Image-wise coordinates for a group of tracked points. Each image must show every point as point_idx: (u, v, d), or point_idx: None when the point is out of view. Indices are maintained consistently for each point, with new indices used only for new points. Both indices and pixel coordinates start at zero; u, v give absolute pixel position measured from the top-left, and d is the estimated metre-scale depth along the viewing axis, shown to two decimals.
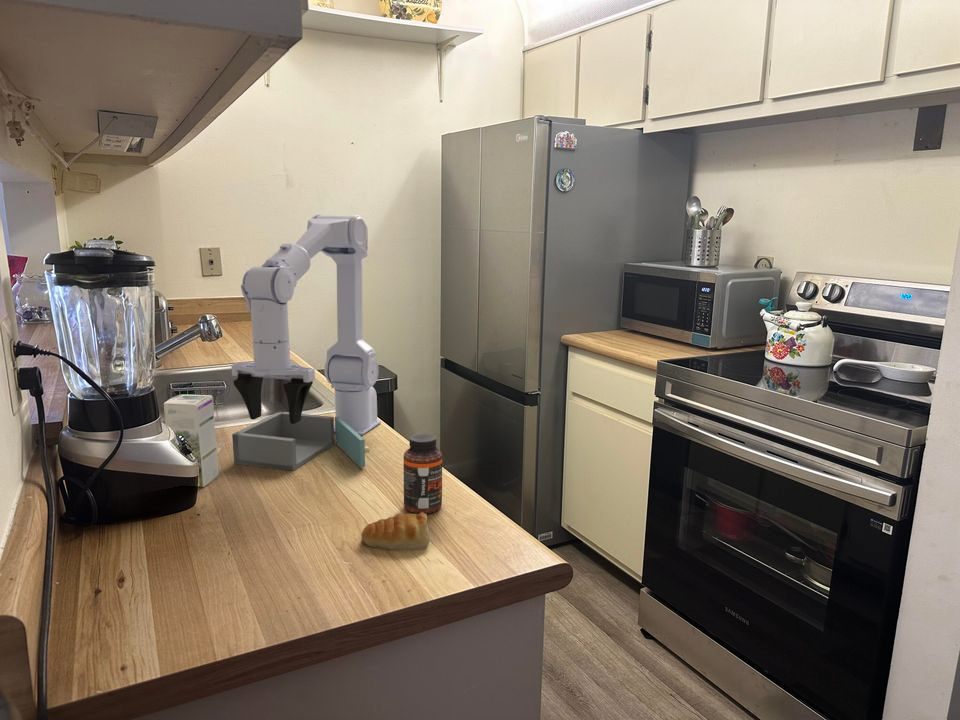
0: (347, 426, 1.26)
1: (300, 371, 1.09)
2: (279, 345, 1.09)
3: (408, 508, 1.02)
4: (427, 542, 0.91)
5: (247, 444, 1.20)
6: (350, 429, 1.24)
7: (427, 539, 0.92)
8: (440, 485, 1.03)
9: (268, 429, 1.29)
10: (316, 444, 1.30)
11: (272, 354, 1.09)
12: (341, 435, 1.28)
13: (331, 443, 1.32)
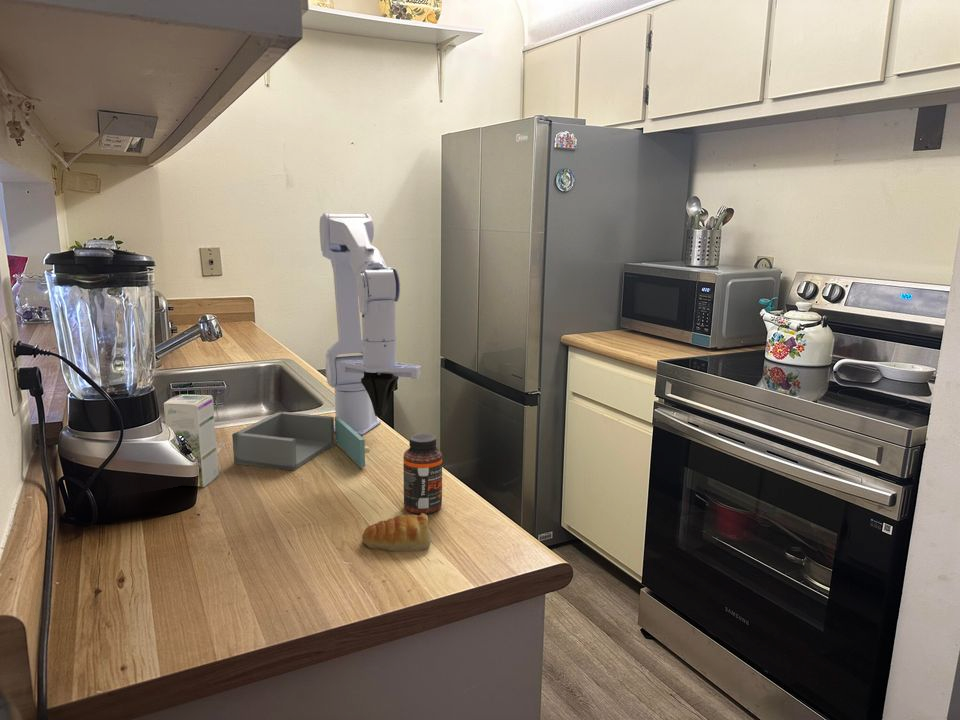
0: (347, 426, 1.26)
1: (408, 368, 1.15)
2: (389, 343, 1.15)
3: (408, 508, 1.02)
4: (428, 543, 0.91)
5: (247, 444, 1.20)
6: (350, 429, 1.24)
7: (428, 540, 0.91)
8: (440, 485, 1.03)
9: (268, 429, 1.29)
10: (316, 444, 1.30)
11: (382, 351, 1.15)
12: (341, 435, 1.28)
13: (331, 443, 1.32)
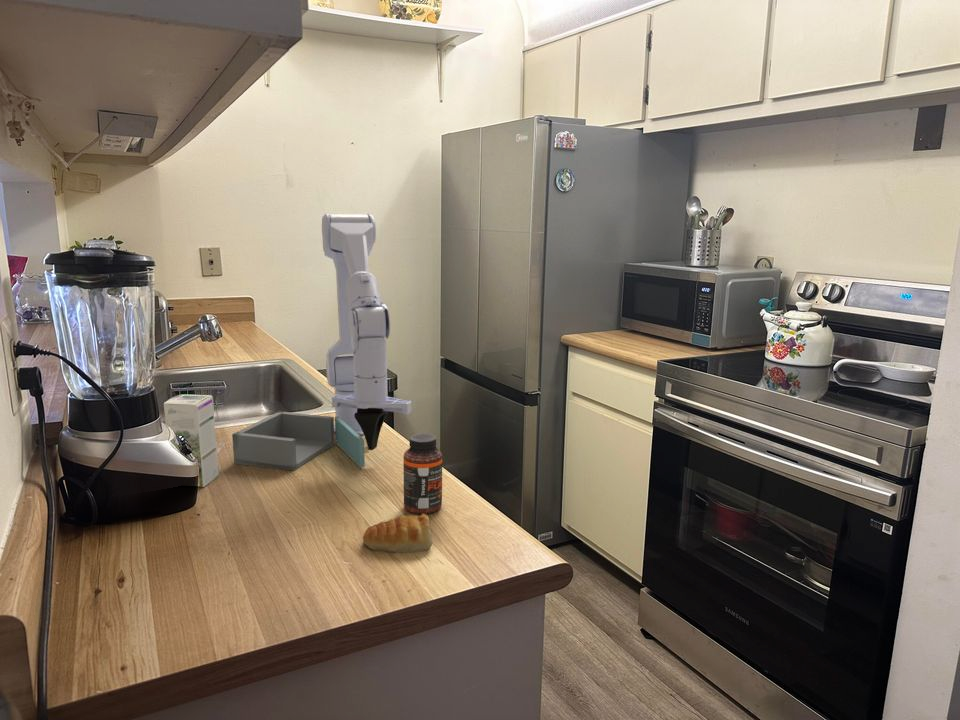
0: (347, 426, 1.26)
1: (399, 404, 1.17)
2: (380, 379, 1.17)
3: (408, 508, 1.02)
4: (430, 544, 0.91)
5: (247, 444, 1.20)
6: (350, 429, 1.24)
7: (430, 541, 0.91)
8: (440, 485, 1.03)
9: (268, 429, 1.29)
10: (316, 444, 1.30)
11: (373, 388, 1.17)
12: (341, 435, 1.28)
13: (331, 443, 1.32)
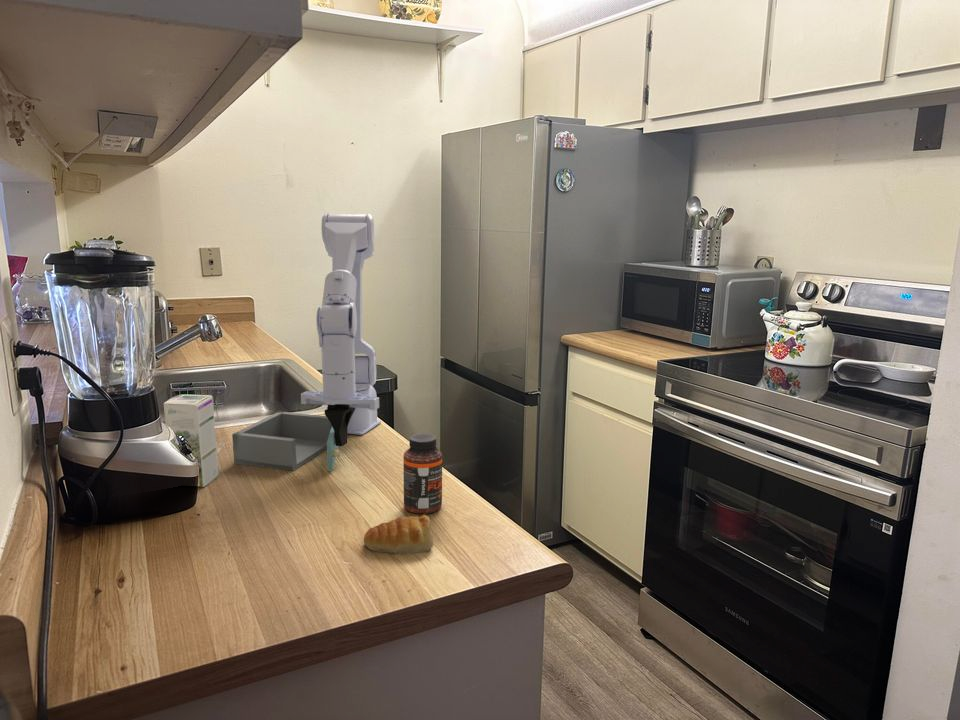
0: None
1: (366, 400, 1.19)
2: (347, 376, 1.18)
3: (408, 508, 1.02)
4: (431, 545, 0.91)
5: (247, 444, 1.20)
6: (332, 430, 1.23)
7: (431, 542, 0.91)
8: (440, 485, 1.03)
9: (268, 429, 1.29)
10: (316, 444, 1.30)
11: (341, 384, 1.18)
12: None
13: None
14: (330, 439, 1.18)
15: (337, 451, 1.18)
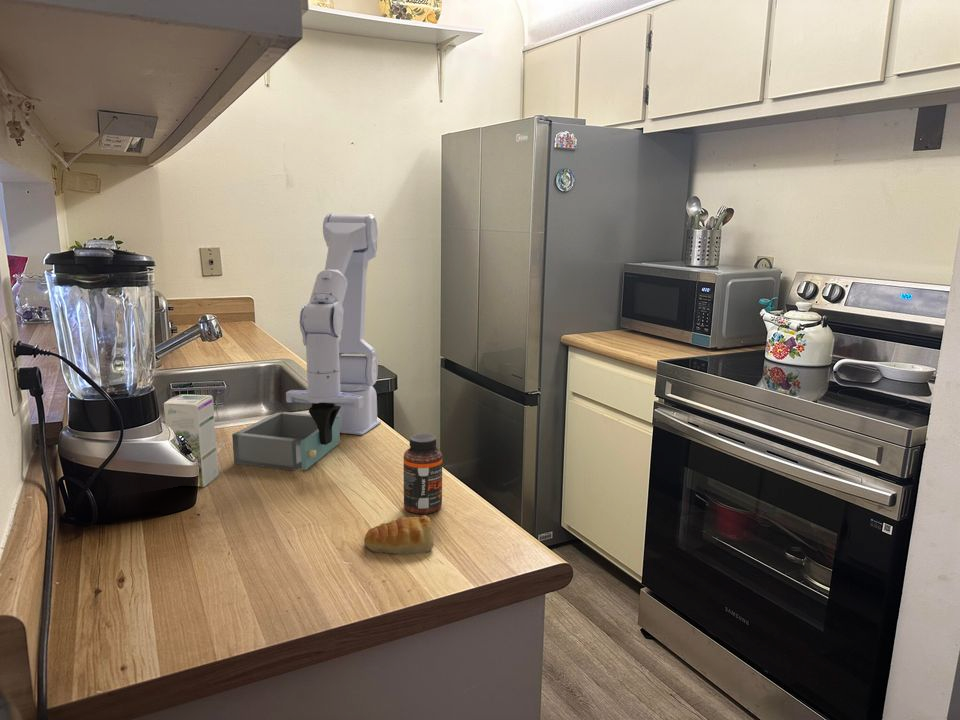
0: None
1: (351, 398, 1.19)
2: (332, 375, 1.19)
3: (408, 508, 1.02)
4: (432, 545, 0.91)
5: (247, 444, 1.20)
6: (318, 430, 1.23)
7: (432, 542, 0.91)
8: (440, 485, 1.03)
9: (268, 429, 1.29)
10: None
11: (325, 383, 1.19)
12: None
13: None
14: (307, 438, 1.19)
15: (312, 451, 1.18)
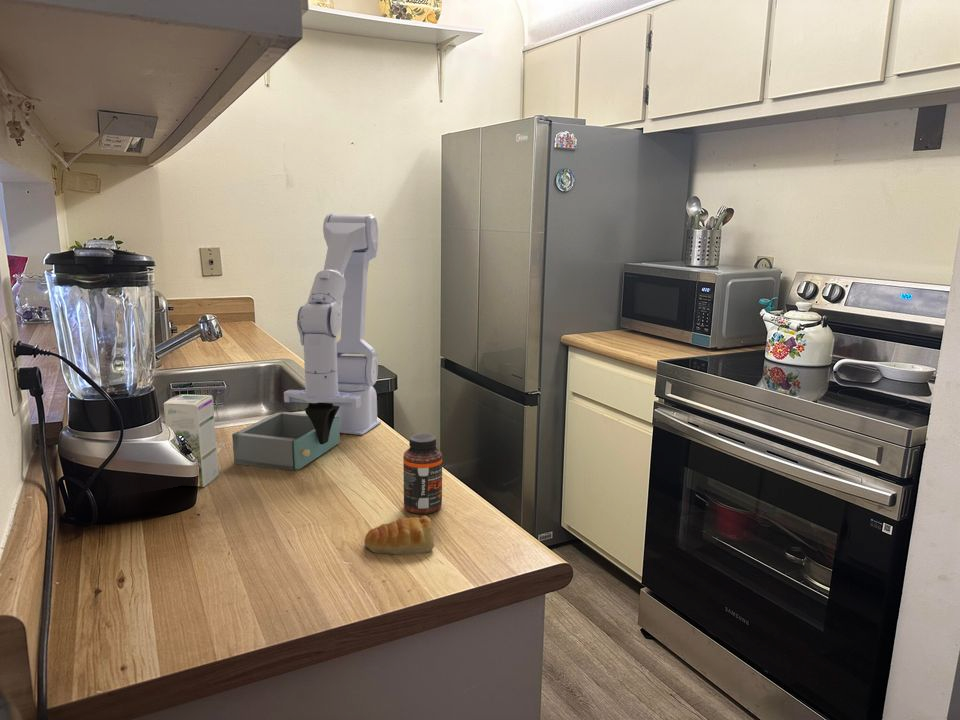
0: None
1: (348, 398, 1.20)
2: (329, 375, 1.19)
3: (408, 508, 1.02)
4: (432, 546, 0.91)
5: (247, 444, 1.20)
6: (314, 430, 1.23)
7: (432, 543, 0.91)
8: (440, 485, 1.03)
9: (268, 429, 1.29)
10: None
11: (323, 383, 1.19)
12: None
13: None
14: (301, 438, 1.19)
15: (306, 451, 1.18)
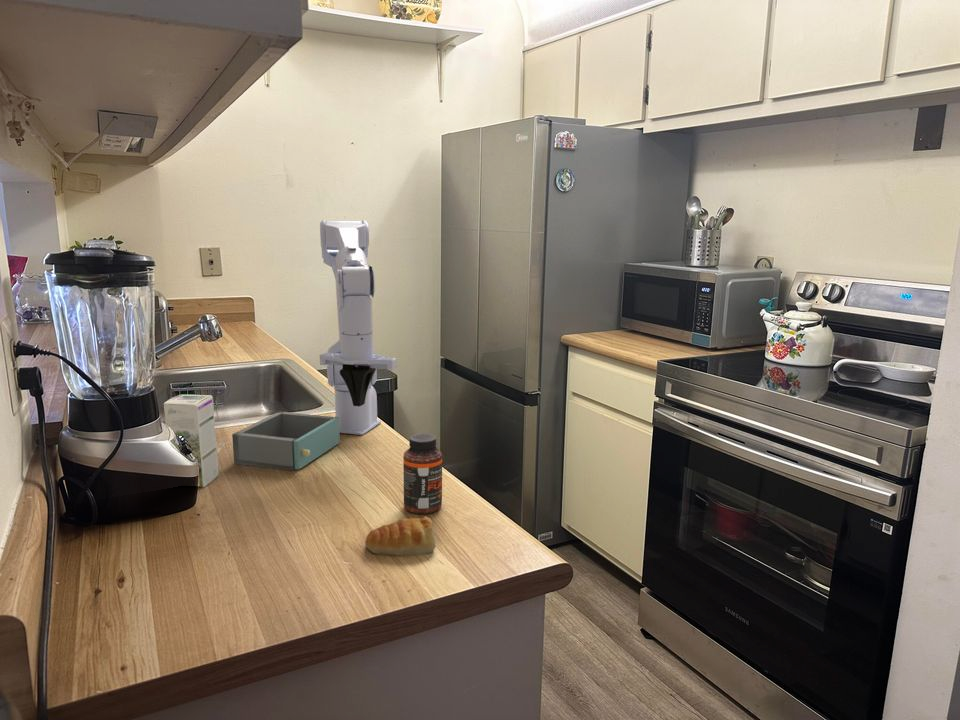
0: (320, 427, 1.25)
1: (384, 360, 1.21)
2: (365, 337, 1.21)
3: (408, 508, 1.02)
4: (433, 547, 0.90)
5: (247, 444, 1.20)
6: (314, 430, 1.23)
7: (433, 543, 0.90)
8: (440, 485, 1.03)
9: (268, 429, 1.29)
10: None
11: (359, 344, 1.21)
12: None
13: None
14: (301, 438, 1.19)
15: (305, 451, 1.18)
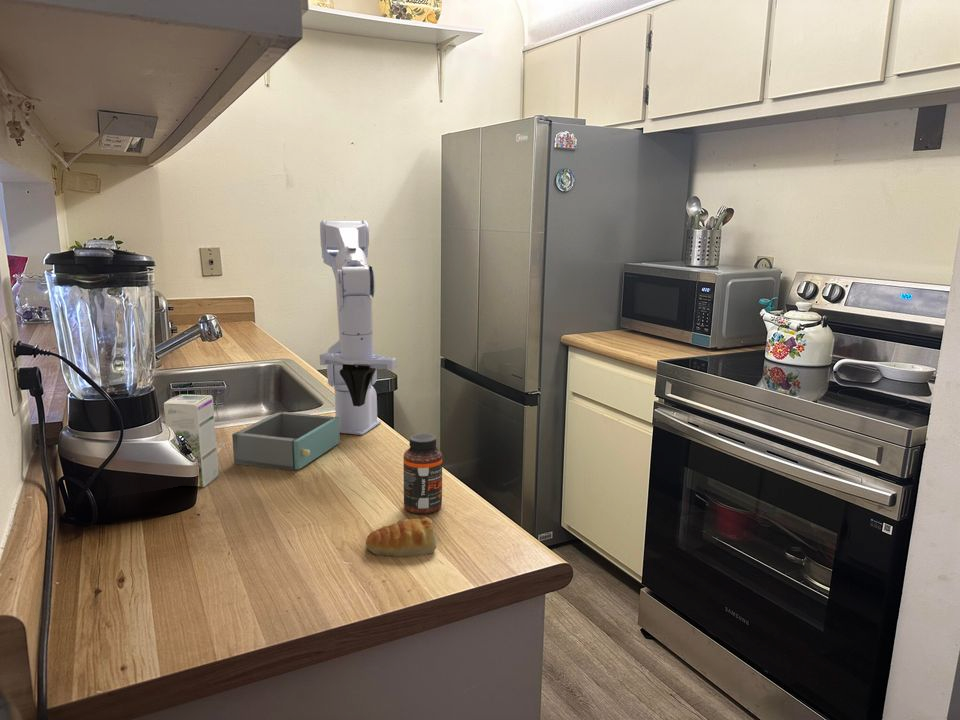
0: (320, 427, 1.25)
1: (384, 360, 1.21)
2: (365, 337, 1.21)
3: (408, 508, 1.02)
4: (434, 548, 0.90)
5: (247, 444, 1.20)
6: (314, 430, 1.23)
7: (434, 544, 0.90)
8: (440, 485, 1.03)
9: (268, 429, 1.29)
10: None
11: (359, 344, 1.21)
12: None
13: None
14: (301, 438, 1.19)
15: (305, 451, 1.18)
